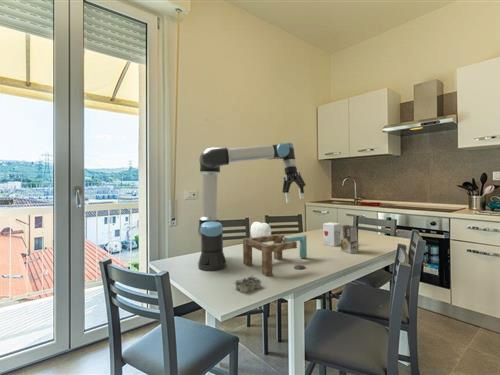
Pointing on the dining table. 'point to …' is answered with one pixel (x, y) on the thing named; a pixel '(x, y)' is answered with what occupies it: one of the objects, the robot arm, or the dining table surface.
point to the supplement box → (331, 234)
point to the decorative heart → (259, 232)
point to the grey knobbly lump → (247, 284)
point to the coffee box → (349, 239)
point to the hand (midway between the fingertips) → (295, 200)
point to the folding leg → (302, 244)
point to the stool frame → (267, 251)
